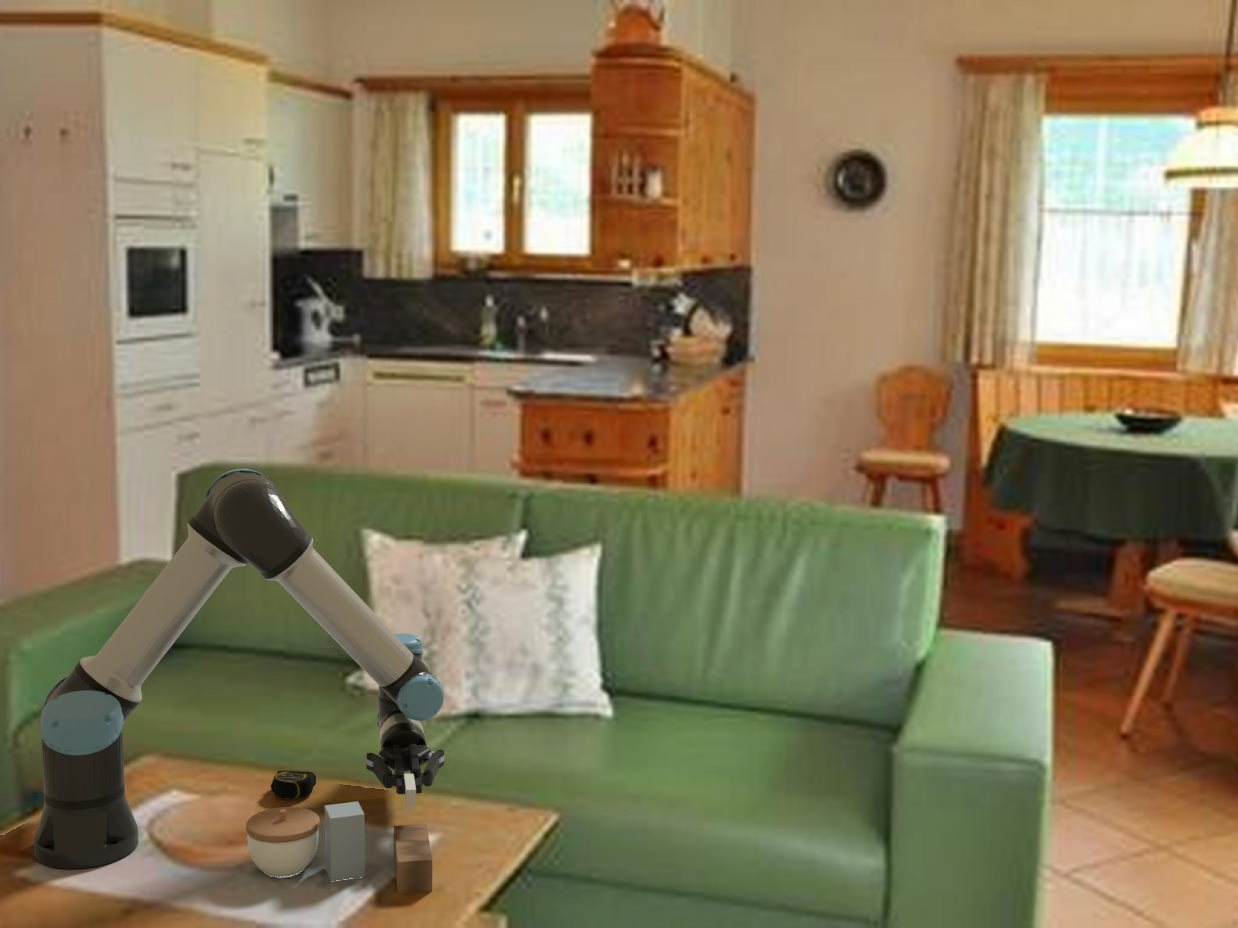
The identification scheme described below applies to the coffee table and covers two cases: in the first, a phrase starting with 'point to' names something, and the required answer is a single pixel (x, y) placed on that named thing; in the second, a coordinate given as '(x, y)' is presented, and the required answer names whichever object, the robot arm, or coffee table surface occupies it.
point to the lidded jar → (283, 839)
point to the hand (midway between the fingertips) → (411, 797)
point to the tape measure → (293, 784)
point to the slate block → (344, 841)
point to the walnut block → (412, 858)
